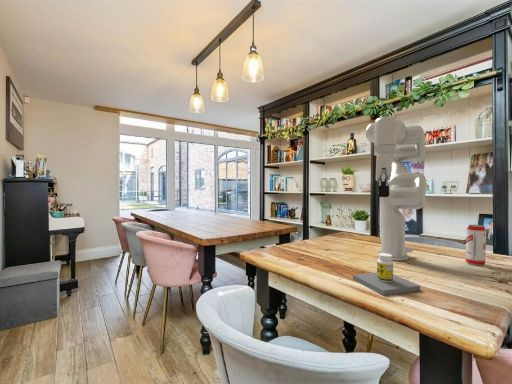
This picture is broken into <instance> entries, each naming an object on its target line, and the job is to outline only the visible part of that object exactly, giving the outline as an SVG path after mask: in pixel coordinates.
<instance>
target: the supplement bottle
mask: <svg viewBox="0 0 512 384" xmlns="http://www.w3.org/2000/svg"><path fill="white" fill-rule="evenodd" d="M376 266H377V267H376V272H377V279H378V280H380V281H382V282H392V281H393V274H394V260H392V255H391V254H387V253H379V256H378V259H377V262H376Z"/></svg>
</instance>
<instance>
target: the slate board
mask: <svg viewBox="0 0 512 384" xmlns="http://www.w3.org/2000/svg"><path fill="white" fill-rule="evenodd" d="M352 280H353V281H356V282H358V283H359V284H360V285H363V286H365V287H366V288H368V289H370V290H372V291H373V292H375V293H378V294H380V295H381V296H390V295H397V294H405V293H410V292H411V291H412V292H418V291H417V290H419V291H421V284H417V283H415V282H413V281H411V280H408V279H405V278H404V277H400V276H398V275H396V274H394V273H393V281H392V282H382V281H380V280H378V279H377V271H376V272H368V273H359V274H352ZM412 292H411V293H412Z"/></svg>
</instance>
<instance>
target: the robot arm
mask: <svg viewBox="0 0 512 384" xmlns="http://www.w3.org/2000/svg"><path fill="white" fill-rule="evenodd" d="M425 137H426V136H425V130H424V128H423V127H422V126H421V125H417V124H416V125H410V126H406V124H405V123H404V122H403V121H402V120H400V119H397V118H396V117H394V116H382V117H378V118H376V119H375V120H374V122H371V123H368V125H367V126H366V129H365V138H366V139H367V140H368V142H370V143H373V145H374V146H373V155H374V156H375V157H376V161H375V164H376V165H375V166H376V167H375V180H376V181H377V182H378V183H379V185H378V198H379V203H380V209H381V211H380V212H381V226H380V227H381V230H380V231H381V233H380V234H381V235H380V251H378V252H377V253H376V255H377V257H379V253H387V254H391V255H392V261H401V262H402V261H407V260H409V255H408V253H413V251H414V250H413V248H412V247H406V217H405V216H404V214H403V212H401V211H400V210H401V209H405V210H419V209H422V208H423V207H424V206H425V202H426V193H427V178H426V176H425V174H423V173H421V172H410V169H409V168H408V166H407V165H405V164H404V163H405V162H406V163H407V162H420V161H423V160H424V159H425V157H426V153H427V152H426V151H427V150H426V138H425ZM403 162H404V163H403Z"/></svg>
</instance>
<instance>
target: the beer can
mask: <svg viewBox="0 0 512 384" xmlns="http://www.w3.org/2000/svg"><path fill="white" fill-rule="evenodd" d="M465 237H466V241H465V244H466V245H465V261H466V263H467V264H468V265H472V266H476V267H483V266H484V265H485V264H486V260H487V259H486V257H487V254H486V253H487V251H486V250H487V230H486V227H485V225H481V224H468V226H467V228H466V236H465Z"/></svg>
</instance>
